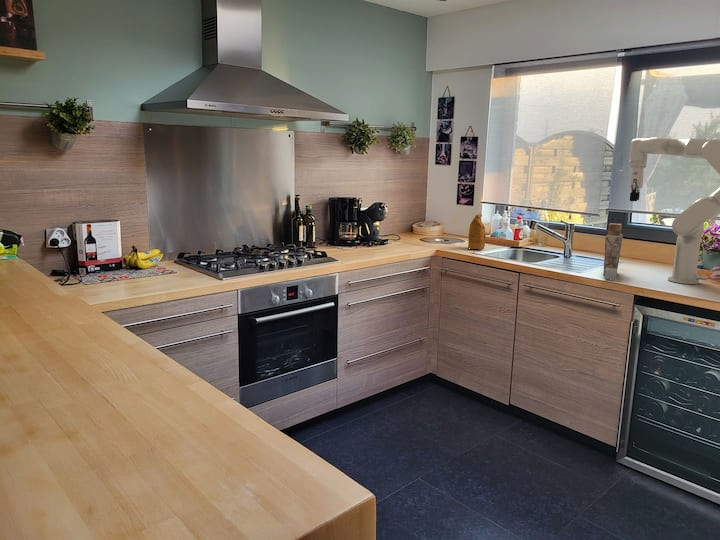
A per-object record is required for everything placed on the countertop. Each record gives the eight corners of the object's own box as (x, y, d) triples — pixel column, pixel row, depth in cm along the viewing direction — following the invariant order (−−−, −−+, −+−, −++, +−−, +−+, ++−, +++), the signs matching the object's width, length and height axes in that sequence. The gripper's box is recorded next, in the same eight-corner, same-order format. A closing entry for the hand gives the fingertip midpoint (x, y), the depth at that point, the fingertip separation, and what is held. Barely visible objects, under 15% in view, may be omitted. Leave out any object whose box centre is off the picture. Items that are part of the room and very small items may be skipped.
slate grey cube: (615, 278, 262) (617, 268, 261) (616, 280, 257) (617, 270, 256) (604, 277, 264) (605, 267, 263) (604, 279, 259) (605, 269, 258)
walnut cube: (620, 234, 268) (622, 223, 267) (619, 235, 264) (620, 224, 263) (609, 233, 271) (610, 223, 270) (607, 234, 267) (608, 224, 266)
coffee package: (487, 248, 348) (489, 213, 343) (481, 251, 337) (483, 215, 333) (472, 247, 353) (473, 212, 348) (465, 249, 342) (467, 214, 338)
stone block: (617, 277, 264) (621, 236, 260) (601, 276, 267) (605, 235, 263) (618, 272, 275) (623, 233, 271) (603, 271, 279) (607, 232, 275)
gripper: (644, 164, 256) (641, 201, 259) (647, 165, 271) (644, 200, 274) (627, 164, 260) (623, 201, 263) (631, 165, 274) (627, 199, 278)
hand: (634, 200), depth 268 cm, fingers open, 9 cm apart
